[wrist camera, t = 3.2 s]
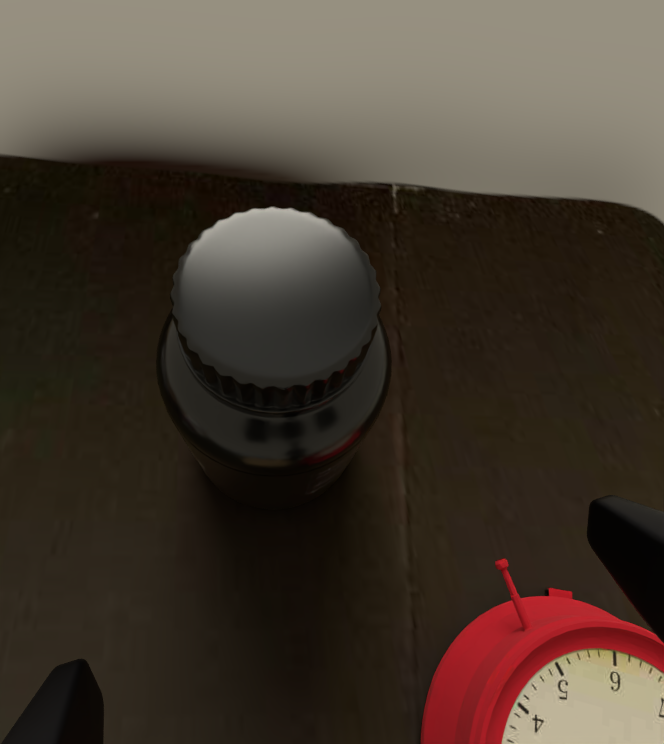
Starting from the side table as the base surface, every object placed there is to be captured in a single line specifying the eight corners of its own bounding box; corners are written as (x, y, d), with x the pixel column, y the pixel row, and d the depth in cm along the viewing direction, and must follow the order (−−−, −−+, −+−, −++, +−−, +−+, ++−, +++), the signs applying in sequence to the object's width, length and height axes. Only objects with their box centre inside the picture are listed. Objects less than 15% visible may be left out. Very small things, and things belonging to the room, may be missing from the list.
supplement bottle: (161, 457, 22) (45, 320, 11) (254, 335, 25) (237, 125, 14) (300, 547, 21) (326, 498, 10) (382, 411, 24) (474, 253, 13)
